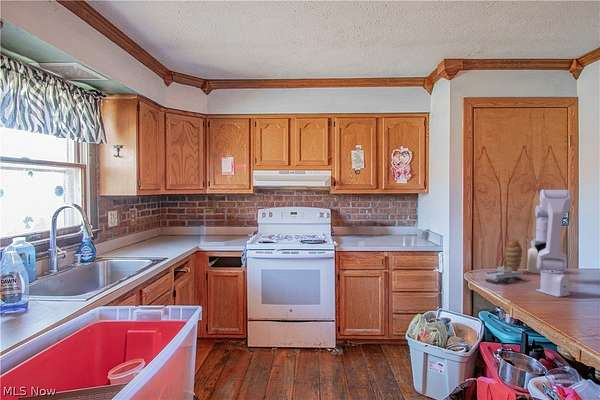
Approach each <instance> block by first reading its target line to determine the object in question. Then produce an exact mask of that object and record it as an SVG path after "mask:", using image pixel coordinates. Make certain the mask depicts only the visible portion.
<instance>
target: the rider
mask: <svg viewBox="0 0 600 400" xmlns="http://www.w3.org/2000/svg"><path fill="white" fill-rule="evenodd" d="M496 271H497V273H499V274H505V273H511V267H508V266H507V265H502V266H497V268H496Z"/></svg>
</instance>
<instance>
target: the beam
mask: <svg viewBox="0 0 600 400" xmlns="http://www.w3.org/2000/svg"><path fill="white" fill-rule="evenodd" d="M484 276H485V277H489V278H492V279H494V280H495V279H498V278H507V277H515V276H517V277H521V276H523V277H524V272H523V271H517V272H515V271H513V269H511V273H505V274H499V273H497V270H492V271H491V270H490V271H485V272H484Z"/></svg>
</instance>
